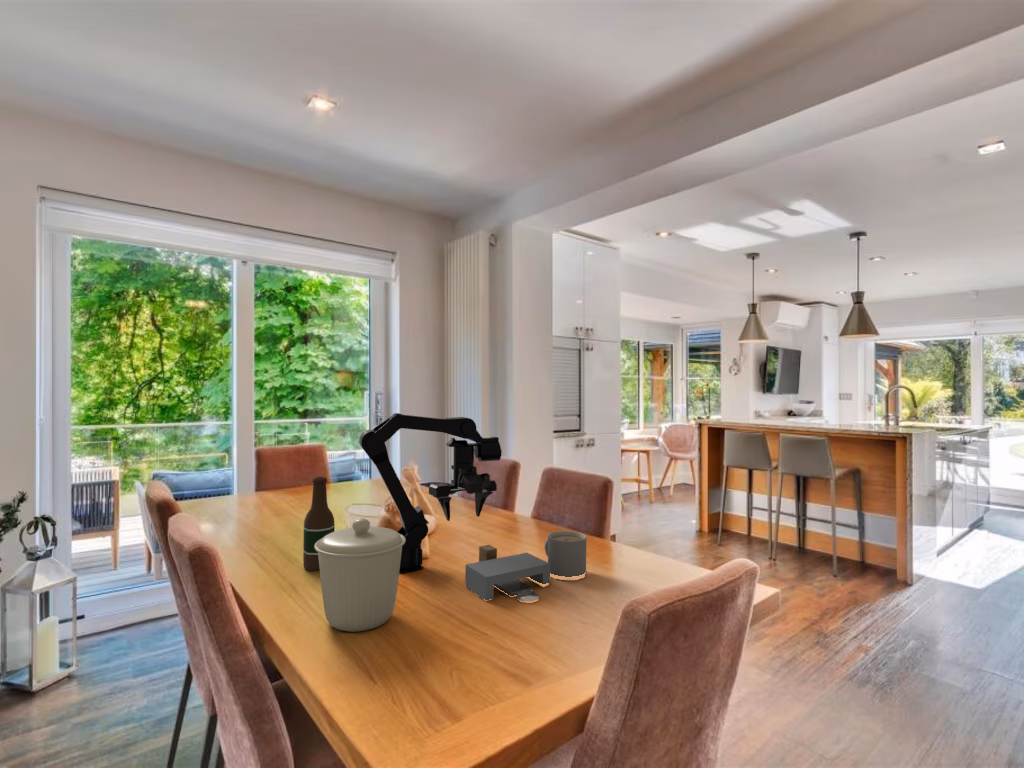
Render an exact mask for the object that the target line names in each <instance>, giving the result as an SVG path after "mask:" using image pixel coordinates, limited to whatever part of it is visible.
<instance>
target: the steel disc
mask: <svg viewBox="0 0 1024 768" xmlns="http://www.w3.org/2000/svg"><path fill="white" fill-rule="evenodd" d="M517 598H518V599H519V600H521V601H534V600H537V599H538V598H539V599H540V595H539V593H537V592H535V591H533V590H532V591H523V592H519V593H518V594H517V597H516V599H517Z"/></svg>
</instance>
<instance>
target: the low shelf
mask: <svg viewBox="0 0 1024 768" xmlns="http://www.w3.org/2000/svg"><path fill="white" fill-rule="evenodd" d="M464 576H465V584H464V585H465V586H466V587H467V588H469V589H470V590H472V591H473V592H474V593H476V594H477V595H479V596H480V597H481V598H483V599H485V600H489V599H493V600H494V587H493V585H494V584H497V583H502V582H506V581H511V580H515V579H518V580H520V579H524V578H525V577H530V578H531V579H533V580H535V581H537V582H539V583H542V584H546V583H549V582H550V581H551V580H550V579H551V577H550V563H548V561H546V560H545V559H544V560H543V559H541V558H539V557H537V556H535V555H533V554H531V553H529V552H524V553H518V554H513V555H507V556H503V557H497V558H496V559H491V560H486V561H481V562H479V561H477V562H473V563H466V564H465V575H464ZM550 583H551V582H550ZM466 587H465V588H466ZM467 588H466V589H467ZM469 589H468V590H469ZM470 590H469V591H470ZM473 592H472V593H473ZM474 593H473V594H474ZM476 594H475V595H476ZM477 595H476V596H477ZM479 596H478V597H479ZM480 597H479V598H480ZM481 598H480V599H481ZM483 599H482V600H483Z"/></svg>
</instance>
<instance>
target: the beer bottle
mask: <svg viewBox="0 0 1024 768" xmlns="http://www.w3.org/2000/svg"><path fill="white" fill-rule="evenodd" d="M311 482H312V483H313V484H312V485H313V486H312V497H311V499H312V500H311V505H310V509H309V510H308V512H306V515H305V518H304V520H303V550H302V551H303V553H302V554H303V556H302V557H303V559H302V561H303V569H305V570H306V571H307V570H308V571H307V572H314V571H319V572H320V568H319V557H318V552H317V551H316V550H315V547H314V546H315V543H316V542H317V541H318V540H320V539H322V538H323V537H324V536H326V535H327V534H330V533H332V532H335V531H336V530H335V528H336V527H335V526H336V525H335V517H334V514H333V512H332V511H331V510H330V508H329V506H328V496H327V493H328V492H327V482H328V479H327V477H325V476H316V477H313V478H312V481H311Z"/></svg>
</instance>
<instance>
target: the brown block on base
mask: <svg viewBox="0 0 1024 768" xmlns="http://www.w3.org/2000/svg"><path fill="white" fill-rule="evenodd" d="M478 550H479V551H478V562H481V561H486V560H491V559H496V558H498V557H497V556H498V548H497V547H494V546H493V545H491V544H485V545H479V546H478ZM494 586H496V587H497V588H499V589H500V590H502V591H504V592H505V593H507V594H508V595H510V596H514V595H517V594H518V593H519V592H523V591H531V590H532V591H533V587H532V586H530V585H528V584H527V583H525V582H524V581H522V580H520V579H515V580H511V581H506V582H502V583H497V584H494Z"/></svg>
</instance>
